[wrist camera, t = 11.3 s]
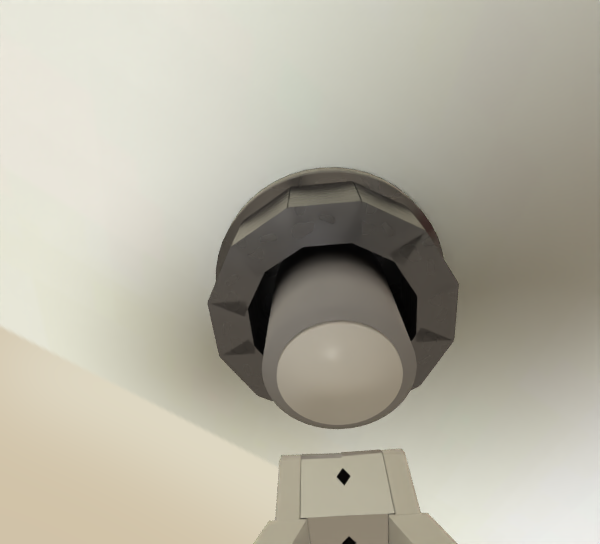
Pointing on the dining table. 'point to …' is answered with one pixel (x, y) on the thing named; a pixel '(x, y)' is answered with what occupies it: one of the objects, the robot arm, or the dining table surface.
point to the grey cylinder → (336, 339)
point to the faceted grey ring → (326, 231)
